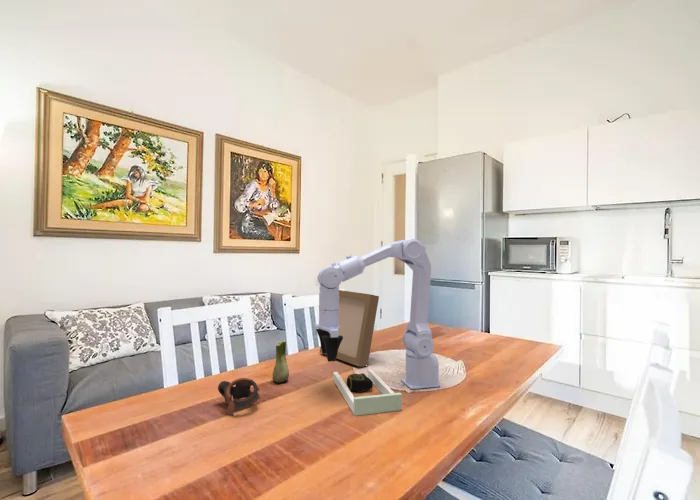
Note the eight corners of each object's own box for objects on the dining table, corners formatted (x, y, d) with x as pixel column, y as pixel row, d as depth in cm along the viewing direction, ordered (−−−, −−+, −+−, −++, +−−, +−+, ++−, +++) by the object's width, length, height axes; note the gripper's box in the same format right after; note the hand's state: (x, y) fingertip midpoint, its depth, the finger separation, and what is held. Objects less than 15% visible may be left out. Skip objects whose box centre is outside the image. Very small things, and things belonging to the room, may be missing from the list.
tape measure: (373, 392, 101) (373, 379, 101) (350, 395, 99) (350, 381, 99) (365, 383, 108) (365, 371, 108) (343, 386, 105) (343, 373, 105)
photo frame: (358, 369, 120) (359, 295, 120) (319, 354, 136) (320, 289, 136) (387, 360, 130) (388, 292, 130) (348, 347, 146) (348, 287, 146)
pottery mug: (266, 401, 96) (267, 380, 91) (247, 431, 88) (247, 410, 83) (227, 386, 98) (226, 365, 94) (205, 414, 90) (203, 393, 86)
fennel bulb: (283, 376, 112) (283, 339, 112) (293, 380, 109) (293, 341, 109) (268, 381, 108) (268, 342, 108) (278, 386, 105) (279, 345, 105)
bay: (371, 376, 113) (371, 364, 113) (401, 410, 90) (401, 394, 90) (333, 380, 110) (333, 367, 110) (354, 415, 86) (354, 399, 86)
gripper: (311, 305, 107) (310, 350, 107) (319, 314, 93) (319, 366, 93) (333, 304, 108) (333, 349, 108) (345, 313, 94) (345, 364, 94)
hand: (328, 356), depth 101 cm, fingers open, 7 cm apart
